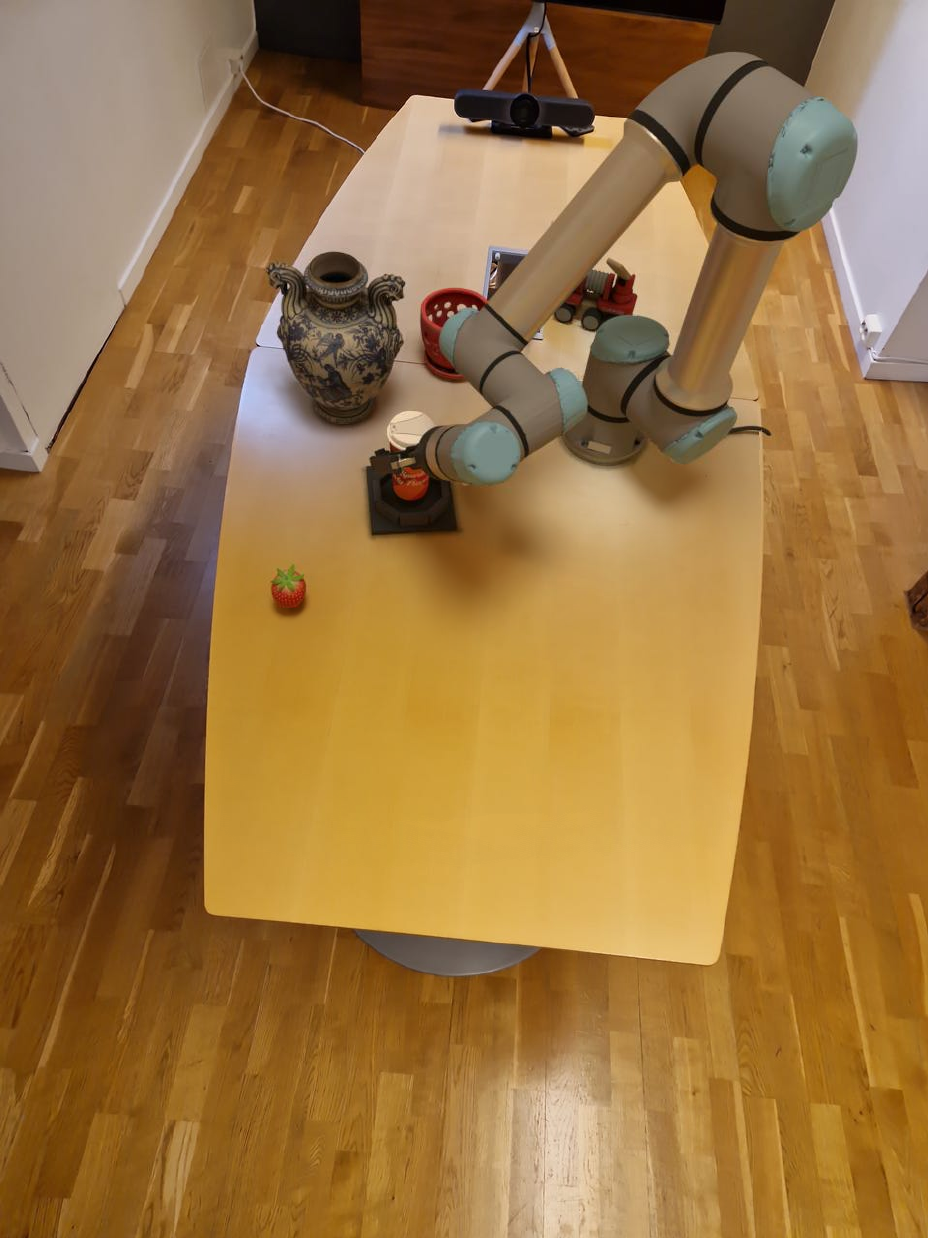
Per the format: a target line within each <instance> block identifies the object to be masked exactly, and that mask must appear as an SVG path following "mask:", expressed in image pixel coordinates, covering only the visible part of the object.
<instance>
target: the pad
mask: <svg viewBox="0 0 928 1238" xmlns="http://www.w3.org/2000/svg"><path fill="white" fill-rule="evenodd" d="M365 468H366V480H367V481H366V482H367V495H368V507H369V518H370V530H371V531H370V532H371V536H383V535H401V534H402V535H403V534H420V533H423V534H424V533H439V532H440V533H441V532H456V531H458V524H457V518H456V510H455V503H454V497H453V490H452V489H453V488H452V483H451V482H452V481H442V480H436V479H433V478H431V477H429V482H428V488H427V491H426V493H425V495H424V496H423V497H421V498H420V499H417V500H405V499H402V498H400V497H399V496H398V495H397V494H396V493H395V491H394V487H393V478H392V473H390V474H373V470H372V467H371V465H366V467H365Z"/></svg>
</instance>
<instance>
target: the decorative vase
mask: <svg viewBox="0 0 928 1238" xmlns="http://www.w3.org/2000/svg"><path fill="white" fill-rule="evenodd" d="M265 272H266V274H267V275H268V279H269V280H268V285H269V286H270V287H272V288H273V289H275V290H278V289H280V294H281V295H282V298H281V304H280V307H281V308H280V311H281V314H282V315H280V317H279V325H278V327H277V330H276V335H277V338H278V339H279V340H280V342H281V344H282V348H283V351H284V352H285V355H286V356H285V357H286V360H287V363H288V365H289V367H290V369H291V371H292V373H293V375H294V378H295V379H296V381H297V382H298V383H299V385H300V386H301V388H302V389H303V390H304V391H305V392H306V394H307V395H308V396H309V397H311V399H313V404H314V408H315V411H316V413H317V414H318V416H320V417H321V418H322V419H324V420H326V421H327V422H329V423H331V424H332V423H333V424H338V425H350V424H355V423H358V422H360V421H362V420H364V419H365V418H367V417H369V415H370V413H371V412H372V411H373V408H374V401H375V400H374V398H375V397H376V396H377V395H378V394H379V393H380V392H381V390H382V389H383V388H384V385H385V384H386V382H387V381H388V379H389V377H390V375H391V373H392V370H393V366H394V362H395V359H396V358H397V356H398V354H399V353H400V351H401V348H402V347H403V345H404V343H405V340H404V338H403V333H402V332H401V330H400V329H399V327H398V324H397V323H398V320H397V319H398V317H397V316H398V315H397V312H396V308H395V306H394V305H393V302H395V301H396V302H399V301H400V300H403V299H404V298H405V294H404V287H405V286H406V281H405V280H403V278H402V276H400V275H395V274H394V273H390V274H388V273H384V274H383V275H381V276H378V277H376V278H374V279H373V280H372V281H370V283H369V284H368V282H369V273H368V271H367V269H366V266H364V265H363V264H362V262H360V261H359V260H358V259H357V258H356V257H354V256H353V255H351V254H349V253H346V252H342V251H328V252H323V253H319V254H318V255H316V256H315V257H313V258H312V259H311V261H310V262H309V263H308V265H306V267H305V269H304V272H303V273H302V272H301V271H300V270H299V269H297V268H296V267H294V266H291V265H289V263H287V262H285V261H282V262H280V261H275V262H269V264H268V266H267V267H266V268H265ZM367 284H368V286H367ZM288 286H289V287H288Z"/></svg>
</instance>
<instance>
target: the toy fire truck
mask: <svg viewBox="0 0 928 1238" xmlns="http://www.w3.org/2000/svg"><path fill="white" fill-rule="evenodd" d="M605 263H606V264H607V266H608V267H609V268H610V269H611V270H612V272H613V273H612V272H610V273H609V272H605V271H601V270H597V269H594V268H593V269H592V270H591V271H590V272H589V274H588V275H587V276H586V277H585V278H584V279H583V280H582V282H581V283H580V284H579V285H578V286H577V287H576V289H575V290H574V291H573V292H572V293H571V294H570V295H569V297H568V298H567V299H566V300H565V301H564V302H563V304H562V305H561V306H560V307H559V308H558V309H557V311H556V312H555V313H554V314H553V316H554V318H555V319H556V321H557V322H559V323H561V324H569V323H571V322H572V321H573V319H574V318H578V319H580V324H581V326H582V328H583V329H584V330H586V331H588V332H597V330H598V329H599V327H600V326H601V325H602V324H603V323H604V322H606V321H607V320H609V319H612V318H614V317H617V316H622V315H634V310H635V307H636V303H637V301H638V294H636V293H635V292H634V289H633V288H634V285H635V282H636V281H635V280H636V276H637V275H636V274H635V273H632V275H631V273H630V272H629V271H628V270H627V269H626V267H625V266H624V265H623V264H622V263H620V262H618V261H616V260H614V259H612V258H611V257H608V258H607V259H606V262H605Z"/></svg>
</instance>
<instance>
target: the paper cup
mask: <svg viewBox="0 0 928 1238" xmlns="http://www.w3.org/2000/svg"><path fill="white" fill-rule="evenodd" d="M436 426H437V425H436V424H435V422H434V421H433V420H432V419H431V418H430V417H429V416H428V415H426V413H424V412H421V411H418V410H406V411H402V412H399V413H398V414H395V416H394V417H393V418H392V419H391V420H390V422H389V424H388V426H387V428H386V437H387V440H388V442H389V451H390V452H394V451H401V450H406V447H409V446H411V445H416V444H418V443H419V441H420V439H421V437H422V436H423V435H424V434H425V433H426V432H427V431H428V430H429V429H431V428H433V427H436ZM404 470H405V471H402V473H400V474H398V475H397V474H393V473H392V478H393V487H394V491H395V493H396V494H397V495H398V496H399V497H400V498H402V499H405V500H417V499H420V498H421V497H423V496H424V495H425V493H426V491H427V488H428V482H429V476H428V475H427V474H426V473H425V472H424V471H423V470H422V469H417V470H412V469H411V468H410V467H406V468H404Z"/></svg>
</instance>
